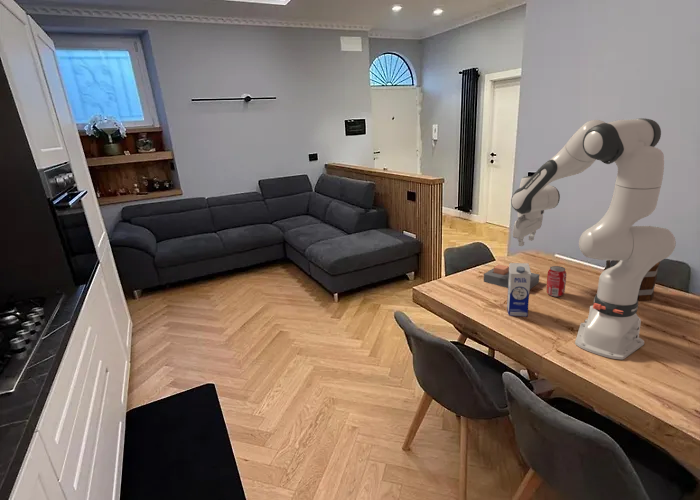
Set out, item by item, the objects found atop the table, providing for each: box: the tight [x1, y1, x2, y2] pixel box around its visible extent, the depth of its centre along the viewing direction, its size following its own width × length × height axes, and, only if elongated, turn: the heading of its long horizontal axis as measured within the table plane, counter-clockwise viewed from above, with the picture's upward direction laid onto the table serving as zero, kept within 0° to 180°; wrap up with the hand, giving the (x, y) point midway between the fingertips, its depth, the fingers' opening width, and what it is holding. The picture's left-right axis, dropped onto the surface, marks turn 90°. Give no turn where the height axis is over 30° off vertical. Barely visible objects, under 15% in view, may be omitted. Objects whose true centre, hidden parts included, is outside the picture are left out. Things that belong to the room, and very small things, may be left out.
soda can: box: [545, 265, 567, 298], centre depth 160 cm, size 7×7×12 cm
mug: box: [605, 260, 661, 302], centre depth 157 cm, size 20×14×15 cm
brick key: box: [493, 264, 509, 275], centre depth 179 cm, size 5×5×3 cm
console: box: [483, 267, 541, 290], centre depth 176 cm, size 14×20×4 cm
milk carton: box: [506, 262, 532, 318], centre depth 147 cm, size 7×7×20 cm
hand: (526, 242), depth 167 cm, fingers open, 8 cm apart
